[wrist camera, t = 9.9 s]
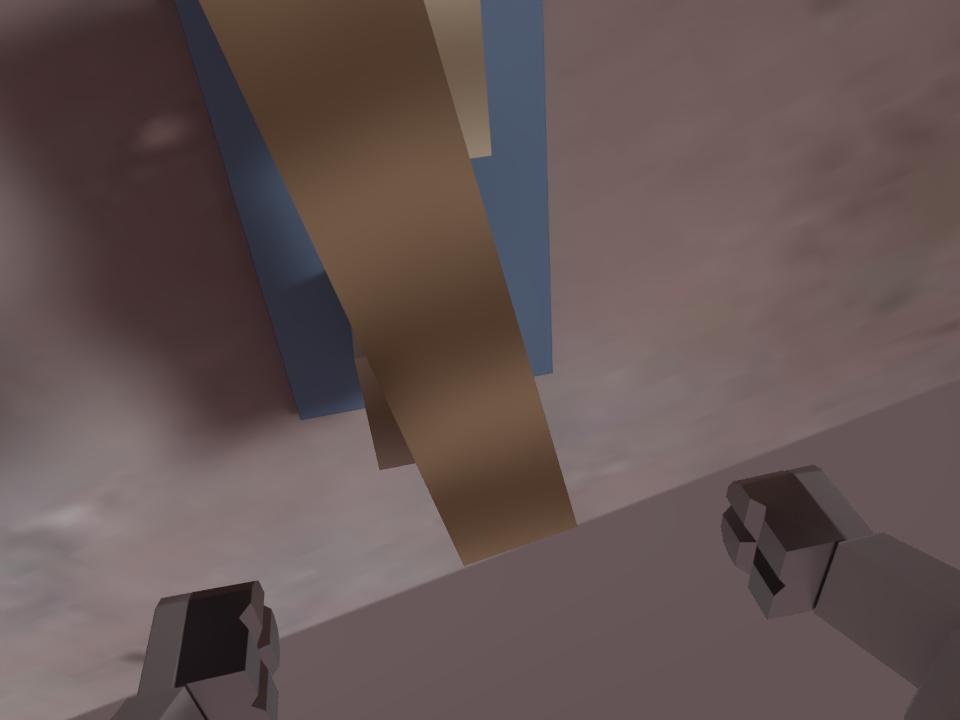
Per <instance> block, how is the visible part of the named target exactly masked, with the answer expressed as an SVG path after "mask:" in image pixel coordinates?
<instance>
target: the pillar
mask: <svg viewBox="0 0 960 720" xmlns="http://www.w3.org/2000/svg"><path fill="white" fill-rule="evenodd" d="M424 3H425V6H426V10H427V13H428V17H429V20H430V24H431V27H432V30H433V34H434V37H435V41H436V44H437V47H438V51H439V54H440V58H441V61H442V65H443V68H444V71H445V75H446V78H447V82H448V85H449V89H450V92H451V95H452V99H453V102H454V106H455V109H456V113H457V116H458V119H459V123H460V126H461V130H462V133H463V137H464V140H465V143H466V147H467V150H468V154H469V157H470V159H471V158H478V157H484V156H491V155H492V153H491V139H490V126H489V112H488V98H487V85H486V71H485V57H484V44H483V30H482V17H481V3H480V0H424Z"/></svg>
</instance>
